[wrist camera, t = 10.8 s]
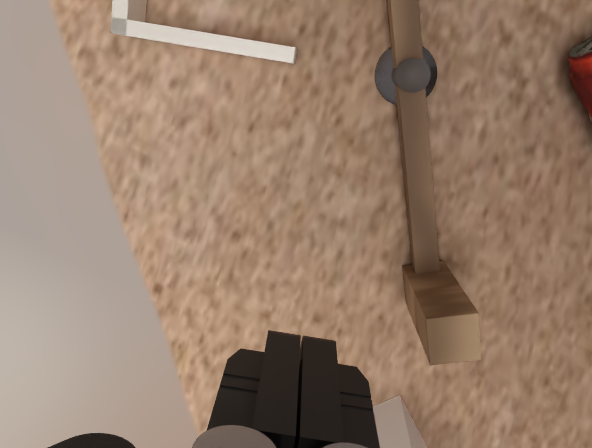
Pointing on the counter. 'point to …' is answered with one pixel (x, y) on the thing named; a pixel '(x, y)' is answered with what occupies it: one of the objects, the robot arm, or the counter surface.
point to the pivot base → (385, 75)
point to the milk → (396, 425)
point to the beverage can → (582, 73)
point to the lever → (425, 207)
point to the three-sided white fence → (190, 34)
